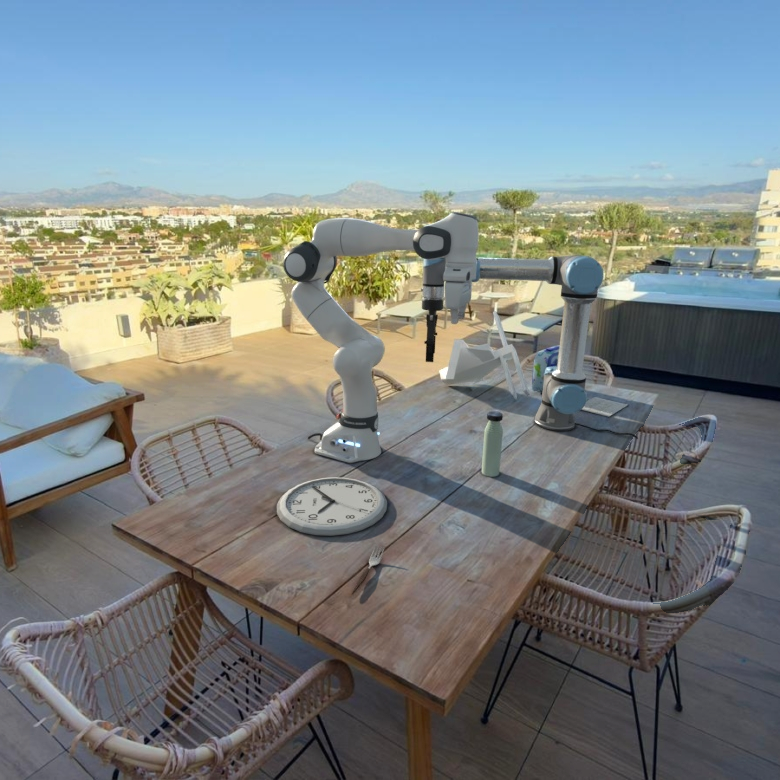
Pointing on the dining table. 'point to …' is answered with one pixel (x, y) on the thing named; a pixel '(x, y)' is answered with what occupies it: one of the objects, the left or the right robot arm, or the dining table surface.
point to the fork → (372, 562)
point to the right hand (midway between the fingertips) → (430, 357)
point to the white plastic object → (482, 362)
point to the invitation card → (603, 406)
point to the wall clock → (331, 506)
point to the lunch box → (543, 366)
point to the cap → (494, 416)
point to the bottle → (492, 449)
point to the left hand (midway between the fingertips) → (458, 321)
